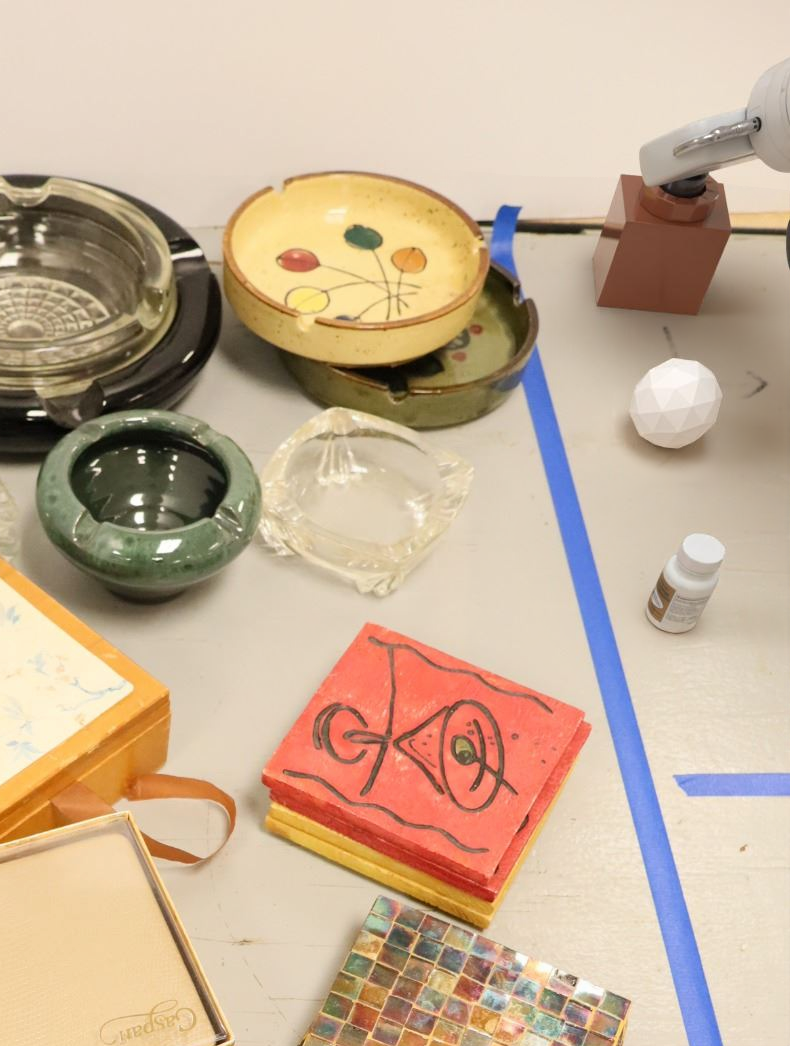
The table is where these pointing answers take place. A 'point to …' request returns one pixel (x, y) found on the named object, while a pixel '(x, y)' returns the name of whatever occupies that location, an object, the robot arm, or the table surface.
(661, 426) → the geometric ball
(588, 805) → the table surface
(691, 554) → the pill bottle
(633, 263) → the dispenser
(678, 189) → the cylinder
